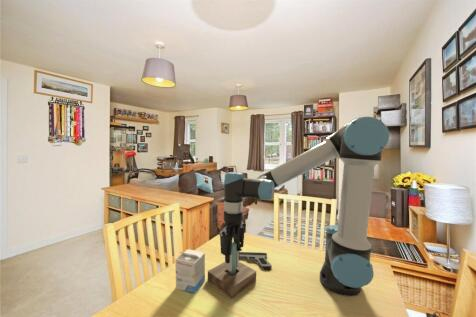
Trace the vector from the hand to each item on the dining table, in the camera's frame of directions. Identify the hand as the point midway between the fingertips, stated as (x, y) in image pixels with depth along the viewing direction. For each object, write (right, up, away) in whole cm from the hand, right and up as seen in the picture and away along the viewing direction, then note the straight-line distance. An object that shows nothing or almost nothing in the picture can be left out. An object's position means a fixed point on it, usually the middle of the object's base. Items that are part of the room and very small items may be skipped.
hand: (232, 267), depth 83 cm
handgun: (+9, -6, +14) cm, 18 cm away
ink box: (-16, -6, -2) cm, 17 cm away
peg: (0, -4, 0) cm, 4 cm away
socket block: (0, -6, 0) cm, 6 cm away
